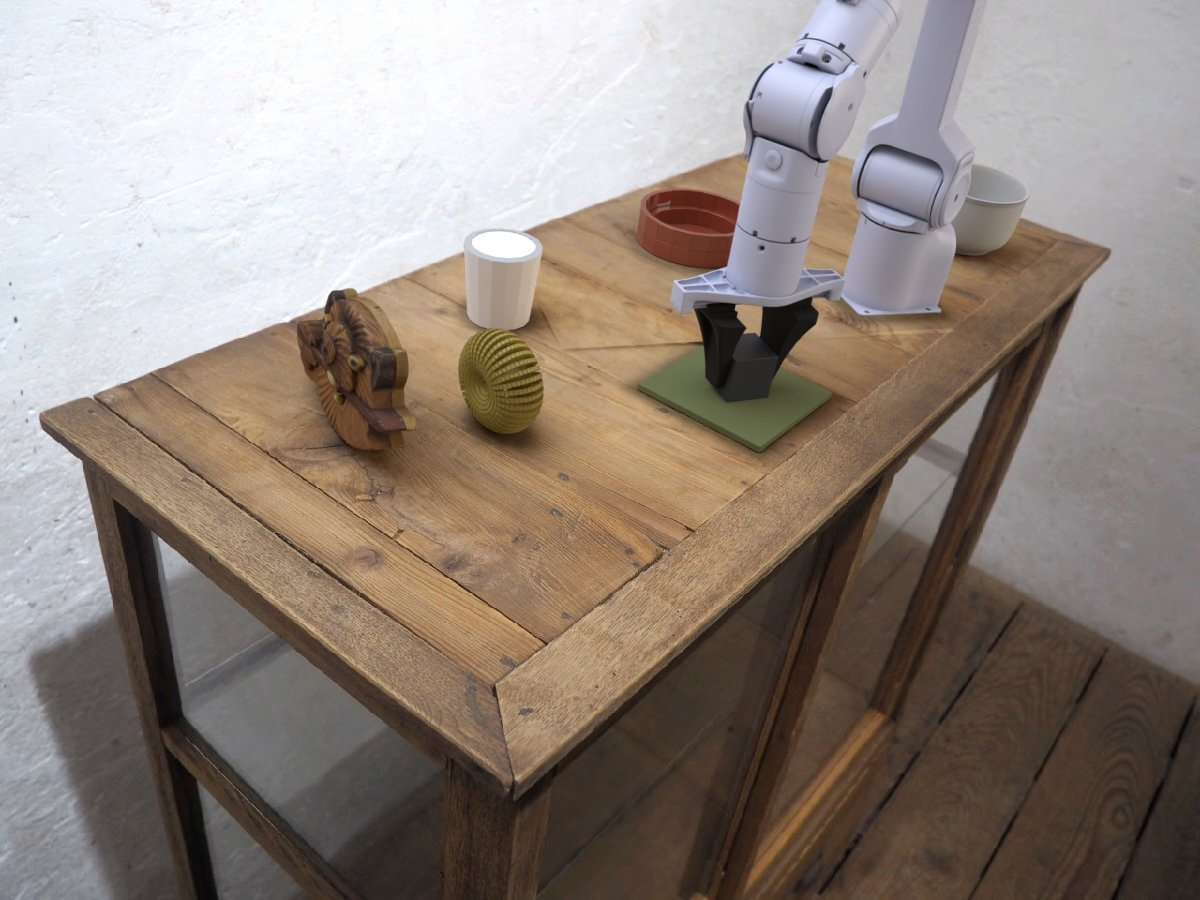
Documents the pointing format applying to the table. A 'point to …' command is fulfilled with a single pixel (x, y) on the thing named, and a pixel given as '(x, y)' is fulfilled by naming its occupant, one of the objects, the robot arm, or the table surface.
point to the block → (749, 370)
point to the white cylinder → (501, 277)
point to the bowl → (688, 226)
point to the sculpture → (500, 380)
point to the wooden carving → (358, 371)
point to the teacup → (989, 210)
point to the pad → (739, 419)
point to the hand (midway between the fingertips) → (738, 379)
